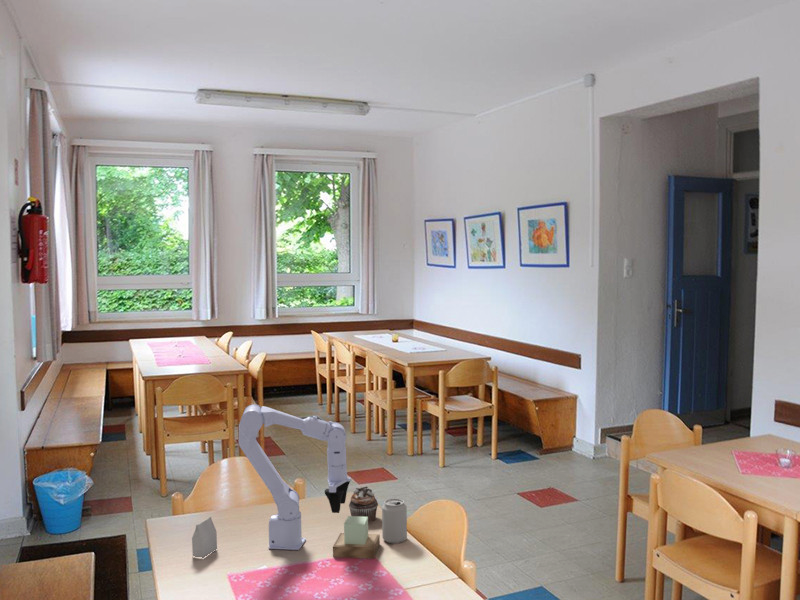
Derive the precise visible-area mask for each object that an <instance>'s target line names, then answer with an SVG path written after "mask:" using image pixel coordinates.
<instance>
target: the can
mask: <svg viewBox="0 0 800 600" xmlns="http://www.w3.org/2000/svg"><path fill="white" fill-rule="evenodd" d="M383 503H384V504H382V506H381V518H382V519H381V524H382V526H381V527H382V528H381V530H382V535H381V536H382V539H383V540H384V541H385V542H386V543H388V544H400V543H402V542H403V543H404V541H405V540H406V539H408V527H407V526H408V519H407V518H408V517H407V516H408V515H407V504H405V500H404V499H401V498H387V499H385V500H384V501H383Z"/></svg>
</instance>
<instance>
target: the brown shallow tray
mask: <svg viewBox="0 0 800 600" xmlns="http://www.w3.org/2000/svg"><path fill="white" fill-rule="evenodd" d="M380 537H381V536H380V534H374V533H373V534H371V533H368V538H367V541H366V543H365V545H361V544H345V543H344V532H340V533H339V535H338V536H337V539H336V540H335V542H334V544H333V546H332V557H333V558H350V559H369V560H370V559H373V560H374V559H375V557H376V554H377V552H378V549H379V547H380V544H381V543H380V542H381V540H380Z"/></svg>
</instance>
